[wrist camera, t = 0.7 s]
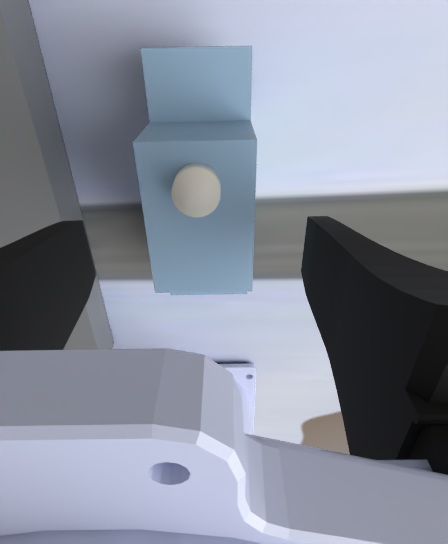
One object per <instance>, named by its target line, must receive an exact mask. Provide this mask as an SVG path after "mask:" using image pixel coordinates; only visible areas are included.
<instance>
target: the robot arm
mask: <svg viewBox="0 0 448 544" xmlns="http://www.w3.org/2000/svg"><path fill="white" fill-rule="evenodd" d="M301 272H302V277H303V283H304V287H305V292H306V296H307V299H308V302H309V304H310V307H311V310H312V313H313V315H314V318H315V321H316V323H317V326H318V329H319V331H320V334H321V337H322V339H323V342H324V345H325V347H326V350H327V353H328V357H329V360H330V364H331V368H332V372H333V376H334V380H335V385H336V389H337V393H338V398H339V403H340V407H341V412H342V416H343V421H344V426H345V431H346V436H347V441H348V446H349V452H350V455H348V454H343V453H338V452H333V451H328V450H323V449H319V448H314V447H309V446H304V445H299V444H294V443H289V442H284V441H279V440H275V439H270V438H265V437H260V436H255V435H253V432H254V410H255V388H256V367H255V365H253V364H217V363H216V362H214V361H213V360H211V359H210V358H208V357H207V356H205V355H202V354H196V353H191V352H185V351H179V350H174V349H99V350H63V349H64V347H65V345H66V343H67V341H68V339H69V337H70V335H71V333H72V331H73V329H74V327H75V325H76V323H77V321H78V319H79V318H80V316H81V313H82V311H83V309H84V307H85V305H86V303H87V301H88V299H89V297H90V293H91V290H92V287H93V284H94V280H95V277H96V271H95V267H94V263H93V259H92V255H91V251H90V247H89V243H88V239H87V235H86V231H85V227H84V223H83V220H76V221H61V222H57V223H55V224H52V225H50V226H47V227H45V228H43V229H40V230H38V231H36V232H34V233H32V234H30V235H27V236H25V237H23V238H21V239H19V240H17V241H15V242H12V243H10V244H8V245H6V246H3V247H1V248H0V544H448V271H444V270H441V269H438V268H435V267H432V266H429V265H426V264H423V263H421V262H418V261H415V260H413V259H410V258H408V257H405V256H403V255H401V254H398V253H396V252H394V251H392V250H390V249H388V248H386V247H384V246H382V245H380V244H378V243H376V242H374V241H372V240H370V239H368V238H366V237H365V236H363V235H361V234H359V233H358V232H356V231H354V230H352V229H351V228H349V227H347V226H345V225H344V224H342V223H340V222H338V221H336V220H335V219H333V218H330V217H328V216H313V217H308V218H307V227H306V235H305V243H304V252H303V260H302V268H301ZM249 374H250V375H249Z"/></svg>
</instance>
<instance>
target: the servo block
mask: <svg viewBox="0 0 448 544" xmlns="http://www.w3.org/2000/svg"><path fill="white" fill-rule="evenodd" d="M140 49H141V57H142V65H143V74H144V82H145V90H146V98H147V106H148V115H149V124H148V125H147V126H146V127H145V128H144V130H143V131H142V132H141V133H140V134H139V135H138V136H137V138H136V139H135V140H134V141H133V149H134V155H135V162H136V169H137V175H138V182H139V189H140V195H141V202H142V209H143V215H144V222H145V229H146V235H147V242H148V248H149V255H150V262H151V268H152V275H153V282H154V288H155V293H170V295H205V294H247V291H252V281H253V250H254V218H255V187H256V155H257V138H256V135H255V133H254V130H253V127H252V124H251V121H250V120H251V74H252V46H211V47H162V48H140Z"/></svg>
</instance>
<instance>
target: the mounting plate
mask: <svg viewBox="0 0 448 544" xmlns="http://www.w3.org/2000/svg"><path fill="white" fill-rule="evenodd" d="M76 220H83V217H82V213H81V209H80V205H79V201H78V197H77V193H76V189H75V185H74V181H73V177H72V173H71V169H70V165H69V161H68V157H67V153H66V149H65V145H64V141H63V137H62V133H61V129H60V125H59V121H58V117H57V113H56V109H55V105H54V101H53V97H52V93H51V89H50V85H49V81H48V77H47V73H46V69H45V65H44V61H43V57H42V53H41V50H40V46H39V42H38V38H37V34H36V30H35V26H34V22H33V18H32V14H31V10H30V6H29V2H28V0H0V248H1V247H3V246H6V245H8V244H10V243H12V242H15V241H17V240H19V239H21V238H23V237H25V236H27V235H30V234H32V233H34V232H36V231H38V230H40V229H43V228H45V227H47V226H50V225H52V224H55V223H57V222H61V221H76ZM83 223H84V221H83ZM84 227H85V225H84ZM85 231H86V229H85ZM86 235H87V233H86ZM87 239H88V237H87ZM88 243H89V241H88ZM89 247H90V245H89ZM90 251H91V249H90ZM91 255H92V253H91ZM92 259H93V257H92ZM93 263H94V261H93ZM94 267H95V265H94ZM95 271H96V269H95ZM113 344H114V341H113V337H112V333H111V329H110V325H109V321H108V317H107V313H106V309H105V305H104V301H103V297H102V293H101V289H100V285H99V281H98V277H97V273H96V277H95V280H94V284H93V287H92V290H91V293H90V297H89V299H88V301H87V303H86V305H85V307H84V309H83V311H82V313H81V316H80V318H79V319H78V321H77V323H76V325H75V327H74V329H73V331H72V333H71V335H70V337H69V339H68V341H67V343H66V345H65V347H64V349H63V350H99V349H112V347H113Z"/></svg>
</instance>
